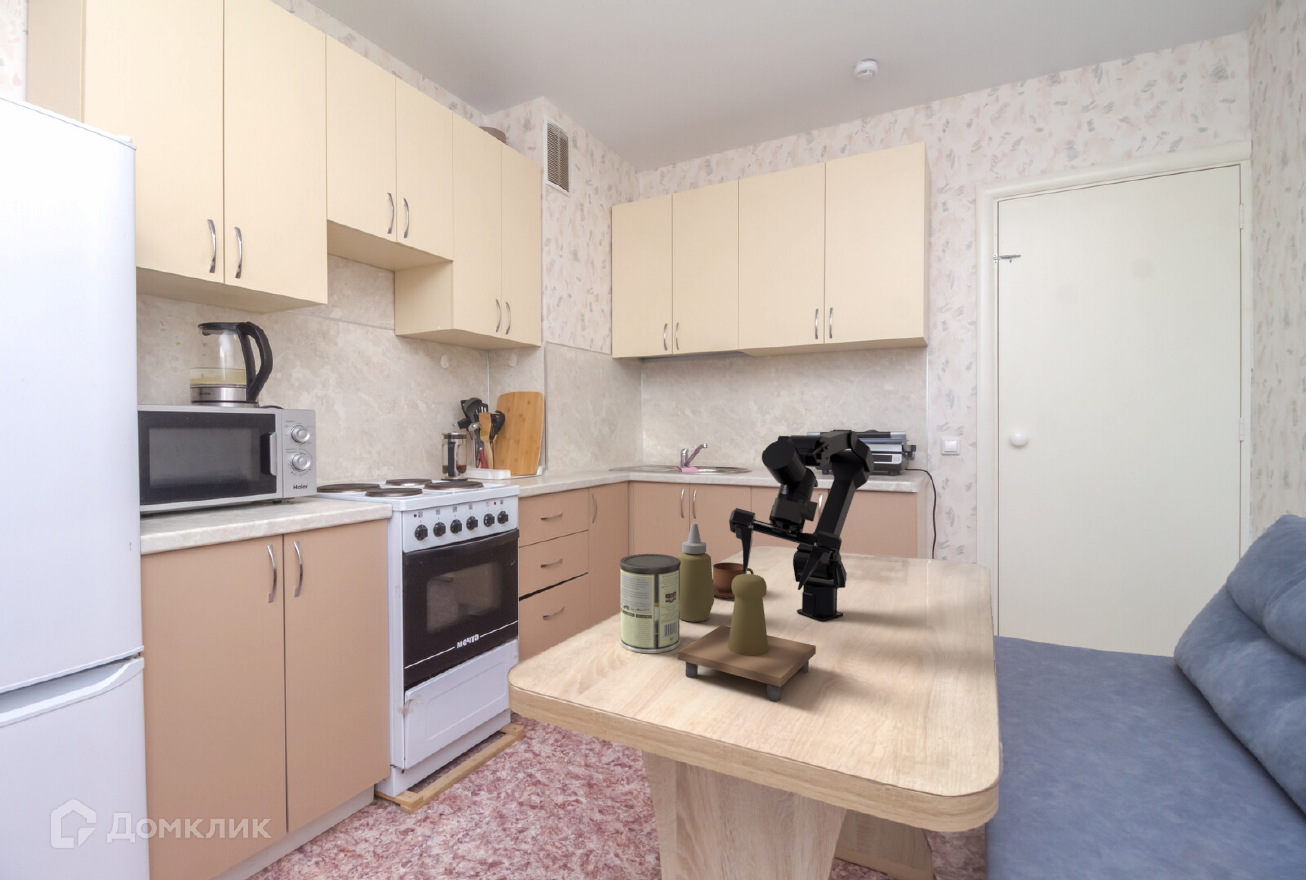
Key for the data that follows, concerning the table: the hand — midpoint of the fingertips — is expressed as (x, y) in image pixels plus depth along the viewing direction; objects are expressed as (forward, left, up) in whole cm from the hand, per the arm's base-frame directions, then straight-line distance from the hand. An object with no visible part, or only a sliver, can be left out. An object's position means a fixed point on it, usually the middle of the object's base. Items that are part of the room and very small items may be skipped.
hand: (771, 581), depth 100 cm
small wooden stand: (+10, +5, -11) cm, 16 cm away
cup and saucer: (-15, -28, -12) cm, 34 cm away
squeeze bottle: (+1, -19, -11) cm, 22 cm away
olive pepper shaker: (+10, +5, -8) cm, 14 cm away
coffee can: (+15, -13, -11) cm, 23 cm away
